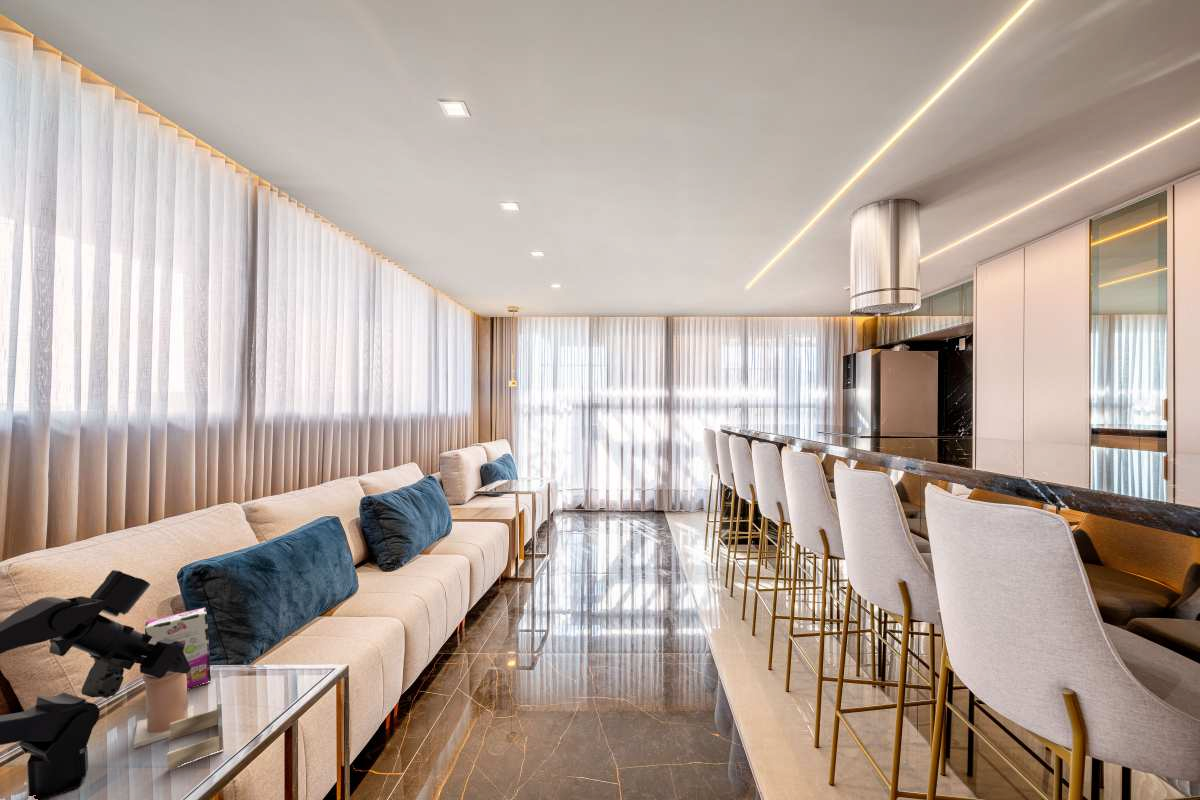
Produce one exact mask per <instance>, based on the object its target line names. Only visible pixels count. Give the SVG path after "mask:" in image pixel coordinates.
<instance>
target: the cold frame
mask: <svg viewBox="0 0 1200 800" xmlns="http://www.w3.org/2000/svg"><path fill="white" fill-rule="evenodd" d="M220 679H221V678H220V677H217V678H215V690H216V692H215V693H216V708H214V709H213V708H212V709H211V710H208V711H205V712H200V713H197V714H194V716H191V717H188V718H184V719H181V720H178V721H175V722H172V723H170V736H171V737H170V740H174V739H177V738H181V737H183V736H186V735H189V734H192V733H196V732H199V731H202V730H205V729H208V728H211V727H214V726H217V731H218V732H217V733H218V735H217V736H213V737H211V738H208V739H205V740H202V741H199V742H196V743H193V744H190V745H186V746H184V747H180V748H178V749H175V750H171V751H169V752H167V771H168V772H170V770H171V771H173V770H176V769H178V768H177V767H178V766H181V765H182V764H184V763H187V762H190V761H193V760H195V759H197V758H200V757H203V756H206V755H209V754H211V753H214V752H217V751H220V750H222V749H223V750H224V732H223V731H224V729H223V710H222V709H223V708H222V705H223V704H222V692H221V682H220V681H221V680H220ZM175 768H176V769H175Z"/></svg>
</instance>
